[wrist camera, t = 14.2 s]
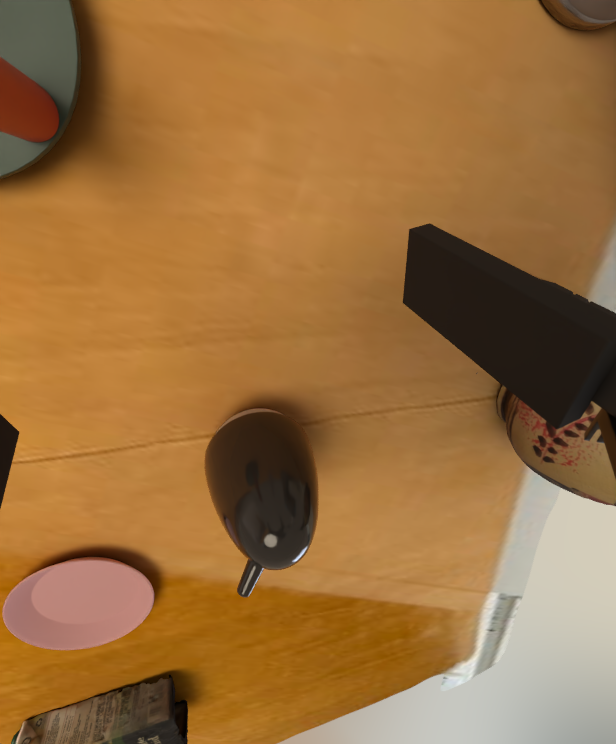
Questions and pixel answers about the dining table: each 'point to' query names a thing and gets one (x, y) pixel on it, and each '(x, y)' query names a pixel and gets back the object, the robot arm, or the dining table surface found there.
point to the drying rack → (36, 78)
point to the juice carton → (114, 719)
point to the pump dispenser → (264, 489)
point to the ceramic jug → (560, 449)
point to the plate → (78, 604)
